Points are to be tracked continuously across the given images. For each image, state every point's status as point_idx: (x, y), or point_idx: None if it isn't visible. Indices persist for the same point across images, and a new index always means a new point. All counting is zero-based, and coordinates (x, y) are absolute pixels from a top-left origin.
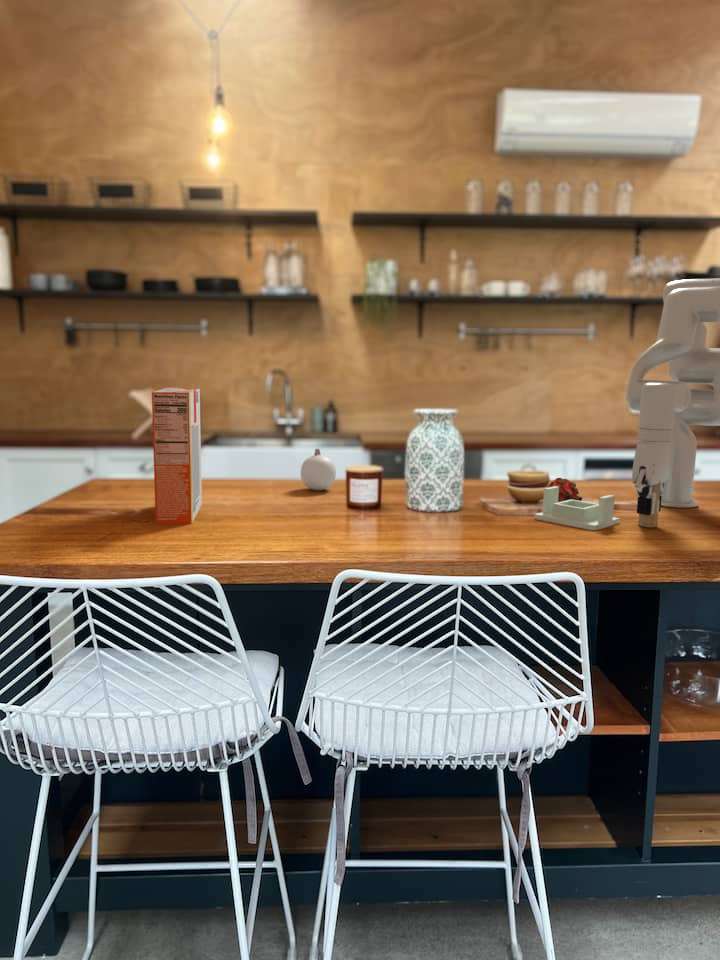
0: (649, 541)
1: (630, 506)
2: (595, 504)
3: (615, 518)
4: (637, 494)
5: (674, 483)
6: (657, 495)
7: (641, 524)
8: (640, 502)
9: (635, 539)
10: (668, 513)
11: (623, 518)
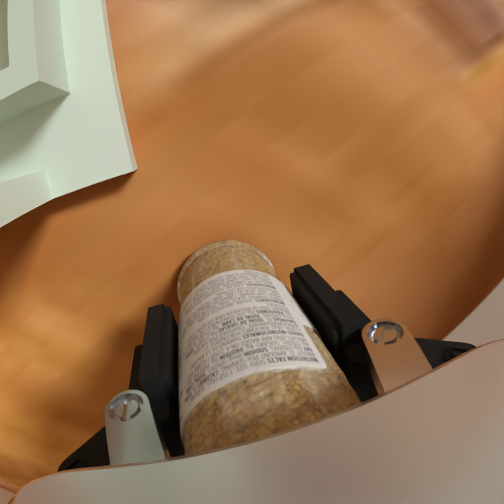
0: (48, 426)
1: (477, 8)
2: (10, 56)
3: (106, 164)
4: (105, 414)
5: None
6: None
7: (178, 291)
8: (134, 384)
9: (17, 397)
10: (496, 156)
11: (273, 90)
